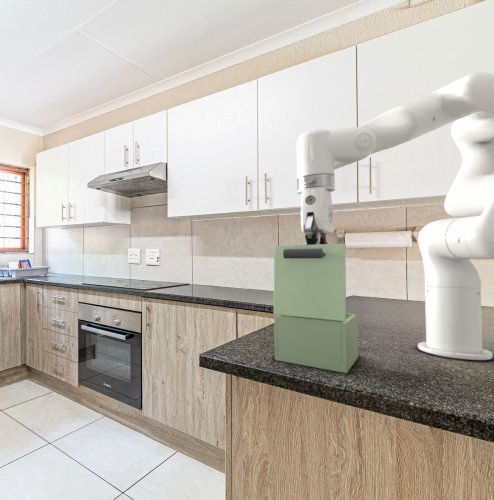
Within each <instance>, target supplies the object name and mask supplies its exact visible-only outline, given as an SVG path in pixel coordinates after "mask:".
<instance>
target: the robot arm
mask: <svg viewBox="0 0 494 500" xmlns="http://www.w3.org/2000/svg"><path fill="white" fill-rule="evenodd" d="M451 123H452V124H451ZM449 124H451V128H450V135H451V138H452V141H453V143H454V144H455V145H456V147H457V149H458V151H459V153H460V155H461V159H462V162H461V166H460V168H459V171H458V173H457V175H456V177H455V178H454V180H453V183H452V185H451V186H450V188H449V190H448V192H447V194H446V196H445V199H444V203H443V208H444V210H445V212H446V214H447V215H448V216H450V217H452V218H444V219H443V218H442V219H438V220H435V221H432V222H429V223H427V224H425V225H424V226H423V227H422V228H421V230H420V231H419V233H418V236H417V245H418V249H419V252H420V256H421V259H422V265H423V273H424V307H425V308H424V309H425V313H424V314H425V341H421V342H418V344H417V349H418V350H420V351H422V352H424V353H428V354H431V355H435V356H440V357H443V358H444V357H445V358H450V359H458V360H467V361H489V360H492V359H493V358H494V353H493V352H492V351H490V350H488V349H486V348H483V326H482V325H483V322H482V321H483V320H482V284H481V283H482V281H481V275H480V274H479V272H478V270H477V268H476V266H475V265H474V264H473V262H472V260H494V73H492V72H491V73H490V72H482V71H478V72H472V73H469V74H467V75H465V76H462V77H460V78H458V79H456V80H454V81H452V82H450V83H448V84H446V85H444V86H441V87H440V88H438V89H435V90H433V91H431V92H429V93H426V94H424V95H421V96H420V97H416V98H415V99H412V100H410V101H408V102H404V103H403V104H401V105H398V106H396V107H395V106H394V107H393V108H391V109H389V110H387V111H385V112H383V113H381V114H379V115H377V116H375V117H373V118H371V120H368V121H367V122H365V123H363V124H361V125H358V126H356V127H354V126H353V127H347V128H341V129H334V130H333V129H332V130H329V129H325V128H324V129H323V128H320V129H319V128H318V129H312V130H308V131H305V132H302V133H301V134H300V135H299V136H298V137H297V139H296V184H297V185H296V187H297V188H296V190H297V192H296V193H297V194H298V195H301V196H300V197H301V198H300V227H301V232H302V233H303V234H304V245H318V244H329V242H328V241H329V240H328V235H333V234H334V232H335V224H334V209H333V199H332V192H334V191H335V190H336V185H335V184H336V183H335V170H337V169H340V168H343V167H345V166H348V165H351V164H354V163H357V162H359V161H361V160H364V159H366V158H367V157H369V156H370V155H372V154H373V155H374V154H375V153H378V152H382V151H385V150H389V149H391V148H394V147H398V146H400V145H402V144H405V143H407V142H410V141H412V140H414V139H416V138H419V137H421V136H423V135H425V134H428V133H430V132H433V131H435V130H437V129H440V128H442V127H444V126H447V125H449Z"/></svg>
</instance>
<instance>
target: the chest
mask: <svg viewBox="0 0 494 500" xmlns="http://www.w3.org/2000/svg"><path fill="white" fill-rule="evenodd" d="M273 317H274V320H273V321H274V322H273V323H274V324H273V325H274V360H275V361H279V362H283V363H289V364H294V365H300V366H305V367H310V368H317V369H320V370H327V371H331V372H337V373H343V374H347V373H348V372H349V371H350V370H351V368H353V367H352V366H353V365H354V364H355V362H357V360H358V358H359V325H358V324H359V321H358V318H359V317H358V313H350V312H346V321H337V320H327V319H317V318H307V317H297V316H287V315H277V314H275V315H274V316H273Z"/></svg>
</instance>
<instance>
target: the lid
mask: <svg viewBox="0 0 494 500" xmlns="http://www.w3.org/2000/svg"><path fill="white" fill-rule="evenodd" d="M273 251H274V252H273V315H287V316H297V317H307V318H317V319H327V320H337V321H346V313H347V287H346V286H347V278H346V277H347V273H346V272H347V269H346V268H347V266H346V265H347V264H346V263H347V262H346V260H347V259H346V255H347V254H346V244H345V243H328V244H318V245H305V244H290V245H289V244H286V245H285V244H284V245H282V244H281V245H274V246H273Z"/></svg>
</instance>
